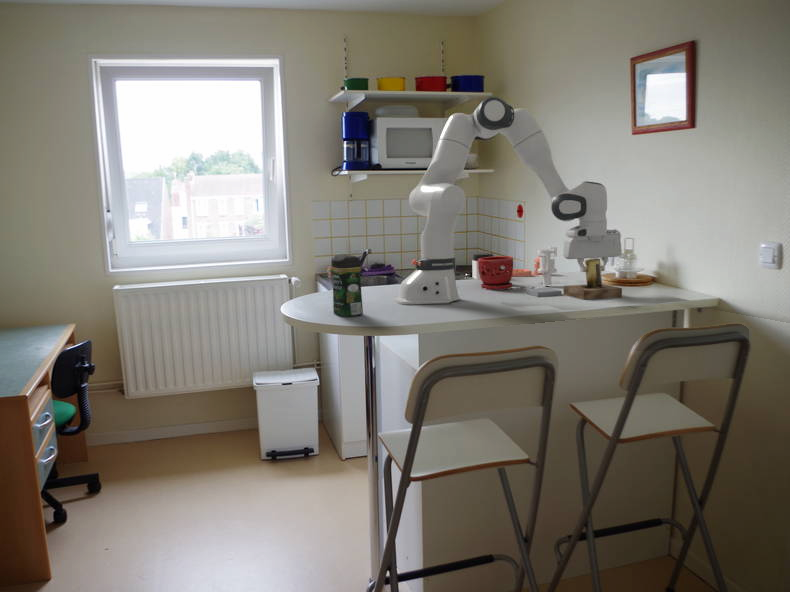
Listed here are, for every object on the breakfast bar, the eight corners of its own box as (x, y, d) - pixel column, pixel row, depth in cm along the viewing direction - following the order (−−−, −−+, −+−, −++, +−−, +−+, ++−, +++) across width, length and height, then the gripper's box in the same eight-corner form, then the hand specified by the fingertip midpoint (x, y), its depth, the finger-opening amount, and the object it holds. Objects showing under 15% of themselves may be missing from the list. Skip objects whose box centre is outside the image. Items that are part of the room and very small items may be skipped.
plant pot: (496, 285, 263) (495, 255, 261) (520, 289, 252) (520, 257, 251) (471, 289, 255) (470, 257, 254) (495, 292, 245) (495, 259, 243)
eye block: (583, 299, 222) (583, 290, 221) (563, 294, 235) (563, 285, 235) (621, 297, 225) (622, 288, 225) (599, 291, 238) (600, 283, 238)
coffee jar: (329, 314, 209) (327, 254, 206) (353, 311, 212) (350, 252, 210) (342, 319, 200) (340, 256, 197) (366, 316, 204) (364, 254, 201)
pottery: (510, 282, 274) (509, 258, 272) (502, 279, 283) (502, 256, 282) (552, 280, 276) (552, 256, 275) (544, 277, 286) (544, 254, 284)
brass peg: (584, 286, 231) (581, 260, 229) (596, 282, 233) (593, 257, 230) (593, 288, 226) (591, 263, 224) (606, 285, 228) (603, 259, 225)
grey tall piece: (558, 287, 253) (558, 247, 251) (539, 288, 253) (539, 248, 251) (554, 285, 260) (554, 246, 258) (536, 285, 260) (536, 246, 258)
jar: (485, 285, 266) (484, 255, 264) (468, 283, 271) (468, 254, 270) (498, 282, 272) (498, 253, 270) (482, 281, 278) (481, 252, 276)
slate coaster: (537, 296, 231) (537, 292, 231) (526, 293, 240) (526, 289, 240) (561, 295, 234) (561, 290, 233) (549, 291, 242) (549, 287, 242)
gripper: (615, 228, 232) (614, 268, 234) (561, 231, 227) (560, 272, 229) (625, 229, 226) (625, 270, 228) (570, 231, 221) (570, 273, 223)
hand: (592, 271), depth 229 cm, fingers closed on brass peg, 5 cm apart
